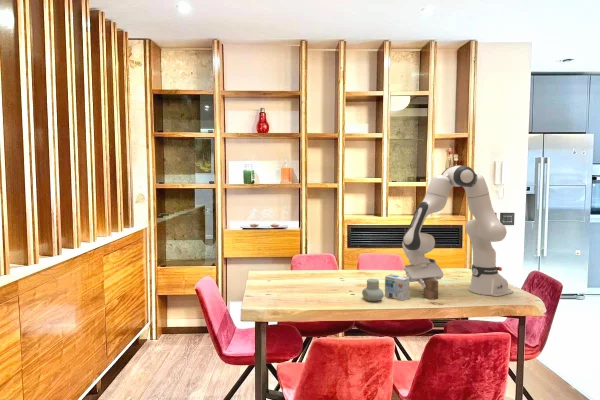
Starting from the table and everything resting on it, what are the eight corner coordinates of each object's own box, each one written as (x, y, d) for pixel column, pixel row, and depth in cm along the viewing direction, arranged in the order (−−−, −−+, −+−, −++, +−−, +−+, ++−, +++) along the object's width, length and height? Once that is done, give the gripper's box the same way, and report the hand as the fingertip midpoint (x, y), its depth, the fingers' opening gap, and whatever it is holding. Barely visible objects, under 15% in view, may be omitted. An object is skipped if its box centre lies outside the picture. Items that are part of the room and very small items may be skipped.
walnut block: (431, 295, 194) (431, 278, 194) (437, 298, 190) (438, 280, 189) (423, 296, 193) (423, 279, 192) (429, 299, 188) (429, 281, 188)
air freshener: (360, 297, 192) (360, 278, 191) (375, 295, 194) (375, 276, 193) (370, 303, 181) (370, 283, 181) (385, 302, 183) (385, 282, 183)
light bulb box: (384, 296, 193) (384, 275, 193) (390, 293, 198) (391, 273, 198) (403, 300, 186) (403, 279, 185) (409, 297, 191) (409, 277, 190)
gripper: (405, 262, 194) (416, 285, 185) (438, 259, 201) (450, 282, 192) (400, 268, 199) (410, 292, 190) (432, 266, 205) (444, 288, 196)
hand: (431, 287), depth 191 cm, fingers closed on walnut block, 5 cm apart
